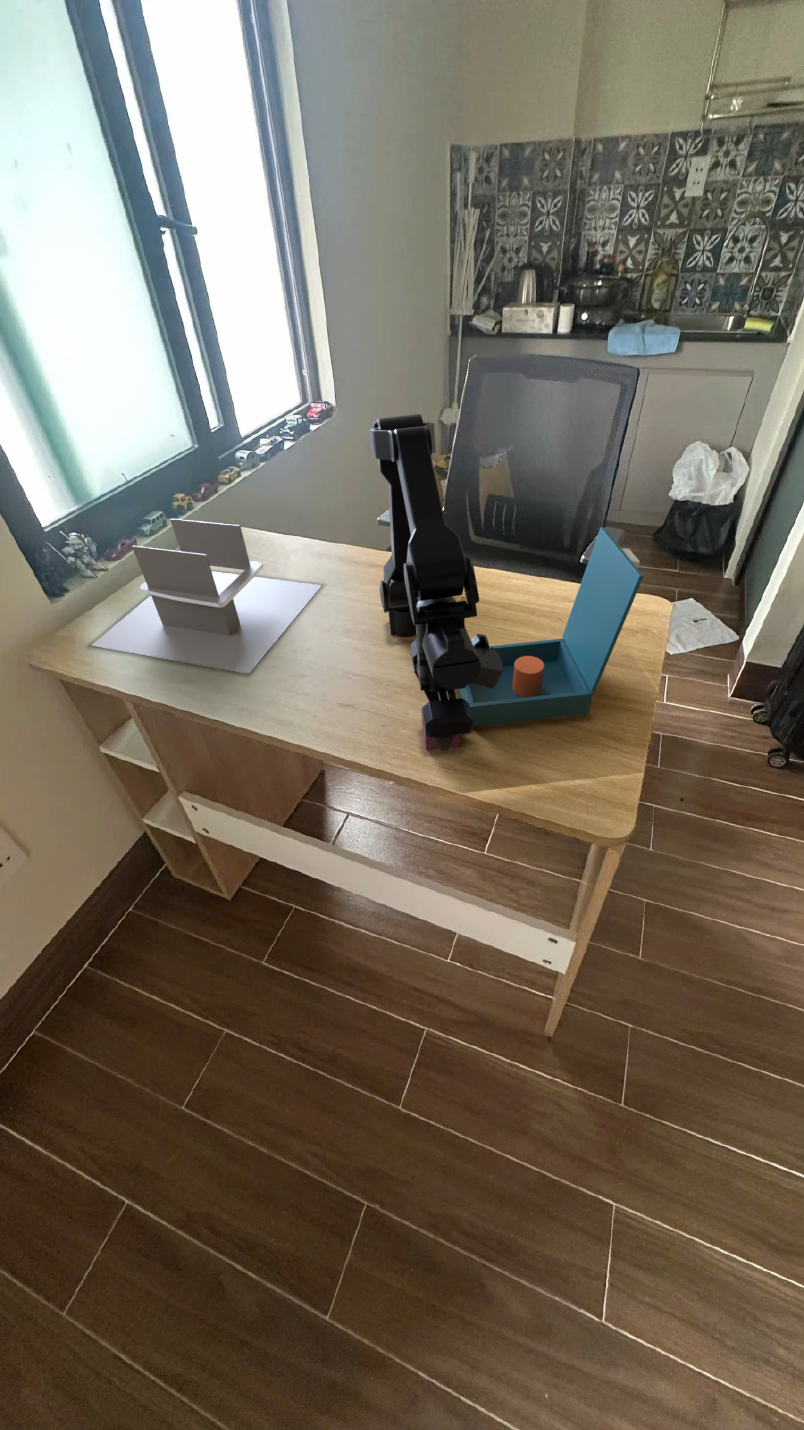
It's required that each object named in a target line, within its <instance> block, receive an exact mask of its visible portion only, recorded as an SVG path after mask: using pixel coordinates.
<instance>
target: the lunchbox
mask: <svg viewBox="0 0 804 1430" xmlns="http://www.w3.org/2000/svg"><path fill="white" fill-rule="evenodd" d="M491 647H493V648H494V649H495V651H496V652H497V653H498V654H499V656H500V659H501V662H502V665H503V667H504V670H503V672H502V674H501V676H500V678H499V680H498V682H497V684H496V686H495V687H494V688H487V687H486V686H482V685H476V684H471V683H470V684H469V685H467V686H466V688H462V689H458V690H459V694H460V698H463V699H464V700H466V701H467V702H469V706H470V709H471V713H472V716H473V727H482V726H490V725H498V724H499V725H500V724H508V723H517V722H525V721H527V722H528V721H534V720H535V721H536V720H544V719H553V718H561V717H562V718H563V717H571V716H579V715H581V716H582V715H589V713H590V708H591V703H592V699H593V692H591V690H590V688H589V686H588V684H587V682H586V681H585V679H584V677H583V675H582V673H581V671H580V669H579V667H578V665H577V663H576V661H575V660H574V658H573V656H572V654H571V652H570V650H569V648H568V646H567V644H566V642H565V641H564V639H563V637H562V638H554V639H545V640H535V641H526V642H515V643H508V644H506V643H505V644H497V645H489V649H491ZM523 656H533V657H537V658H539V659H540V660H542V661H543V663H544V672H543V680H542V688H541V692H540V694H539V695H537V696H536V697H527V698H524V697H520V696H518V695H516V694H515V693H514V691H513V688H512V687H513V676H514V664H515V661H516V660H517V659H518V658H520V657H523Z"/></svg>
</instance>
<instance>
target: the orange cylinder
mask: <svg viewBox="0 0 804 1430" xmlns="http://www.w3.org/2000/svg"><path fill="white" fill-rule="evenodd" d="M543 672H544V663H543V661H542V660H540V659H539V658H537V657H533V656H523V657H520V658H518V659H517V660H516V661H515V664H514V676H513V687H512V688H513V691H514V693H515V694H516V695H518V696H520V697H524V698H527V697H536V696H537V695H539V694H540V692H541V688H542V680H543Z"/></svg>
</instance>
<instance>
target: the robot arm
mask: <svg viewBox="0 0 804 1430" xmlns="http://www.w3.org/2000/svg"><path fill="white" fill-rule="evenodd" d="M435 435H436V433H435V423H434V422H431V421H424V420H423V417H422V414H421V413H416V414H408V415H400V416H399V415H398V416H389V417H381V418H376V421H375V422H374V423H373V427H371V428H369V442H370V450H371V454H372V457H373V458H374V459H375V460H376V462H377V465H378V469H379V472H380V474H381V475H382V477H383V478H384V479H385V481H386V482H387V486H388V487H387V491H388V509H389V527H390V545H391V546H390V548H391V550H390V551H391V556H390V557H389V559H388V560H387V561H386V563H385V564H384V566H383V568H382V569H383V570H382V571H383V580H381V581H380V584H379V596H380V597H379V598H380V602H381V605H382V609H383V613H388V632H389V634H390V635H391V636H397V637H400V638H412V637H414V636H416V638H414V640H413V642H411V643H410V657H411V664H412V667H413V672H414V674H415V677H416V678H417V680H418V683H419V688H420V691H423V692H424V694H425V696H426V698H427V700H428V702H426V703H425V704H424V705H423V706H422V707H421V709H422V713H421V716H422V715H423V723H424V729H425V734H426V736H428V737H430V738H433V740H434V741H435V742H436V744H437V745H438V746H439V748H440V749H439V750H441V751H443V752H444V751H449V750H450V748H451V747H450V746H451V744H452V742H453V739H454V737H455V735H459V734H460V735H467V734H471V733H472V732H473V730H474V726H473V716H472V713H471V709H470V706H469V702H467V701H466V700H464V699H463V698H461V697H460V698H459V697H458V698H457V694H456V691H455V690H459V689H462V688H466V686H467V685H469V684H470V683H471V684H476V685H482V686H486V687H487V688H494V687H495V686H496V684H497V682H498V680H499V678H500V676H501V674H502V672H503V670H504V667H503V665H502V662H501V659H500V656H499V654H498V653H497V652H496V651H495V649H494V648H493V647H491V649H489V646H490V642H489V639H488V636H487V635H486V634H481V633H476V634H475V635H474V636H473V637H472V638H471V637H470V635H469V633H468V631H467V628H466V625H465V619H470V618H476V617H478V610H477V604H478V603H479V602H480V594H479V590H478V584H477V577H476V572H475V567H474V564H473V563H472V562H471V558H470V557H469V556H468V555H465V552H464V549H463V545H462V542H461V538H460V536H459V535H458V534H457V533H455V531H453V530H452V529H451V527H449V526H448V525H447V523H446V519H445V514H444V510H443V505H442V501H441V496H440V495H441V494H440V491H439V487H438V482H437V477H436V472H435V469H434V463H433V459H432V455H433V454H435V453H436V436H435ZM463 593H464V594H465V599H466V600H457V599H455V598H454V597H460V596H463Z"/></svg>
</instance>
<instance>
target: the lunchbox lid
mask: <svg viewBox="0 0 804 1430" xmlns="http://www.w3.org/2000/svg"><path fill="white" fill-rule="evenodd" d="M640 563H641V562H640V560H639V559H638V558H637V556H636V555H635V554H634V553H633V551H632V550H631V549H630V548H625V547H621V546H620V545H619V543H618V542H617V541H616V540H615V538H613V536H612V535H611V534H610V532H608V530H607V529H606V527H604V526H600V527H599V530H598V533H597V536H596V539H595V542H594V544H593V547H592V550H591V553H590V556H589V559H588V562H587V565H586V568H585V570H584V572H583V576H582V579H581V582H580V585H579V588H578V590H577V593H576V595H575V599H574V603H573V605H572V608H571V610H570V614H569V616H568V619H567V622H566V624H565V627H564V631H563V633H562V638H563V639H564V641H565V642H566V644H567V646H568V648H569V650H570V652H571V654H572V656H573V658H574V660H575V661H576V663H577V665H578V667H579V669H580V671H581V673H582V675H583V677H584V679H585V681H586V682H587V684H588V686H589V688H590V690H591V692H592V693H595V692H596V690H597V688H598V686H599V683H600V680H601V679H602V676H603V674H604V672H605V669H606V667H607V665H608V662H609V660H610V657H611V654H612V652H613V650H614V648H615V646H616V643H617V640H618V638H619V637H620V634H621V631H622V629H623V626H624V624H625V622H626V619H627V617H628V615H629V613H630V610H631V608H632V605H633V603H634V600H635V598H636V596H637V594H638V591H639V589H640V586H641V584H642V582H643V580H644V575H643V573H642V572H641V571H640V570H639V565H640Z"/></svg>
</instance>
